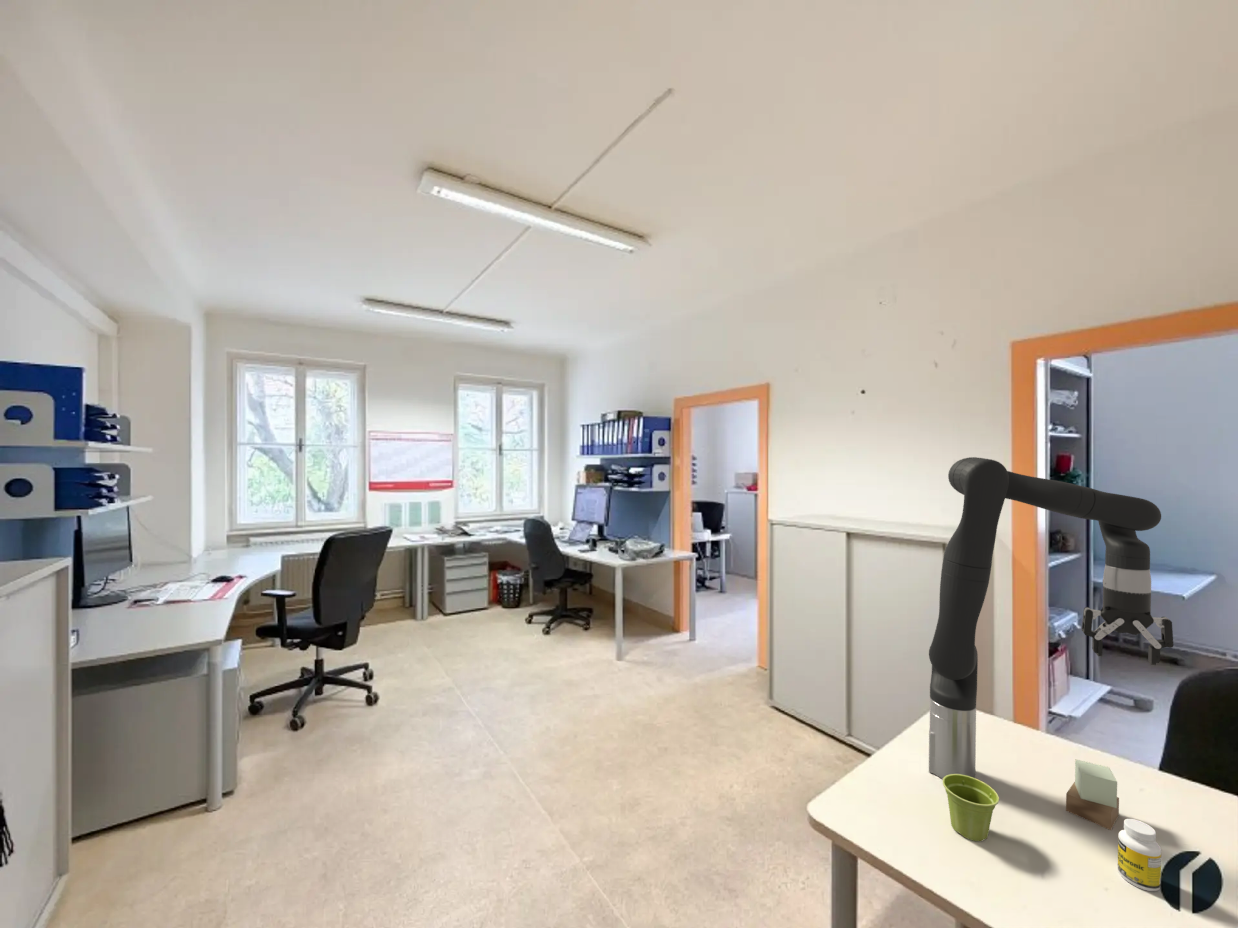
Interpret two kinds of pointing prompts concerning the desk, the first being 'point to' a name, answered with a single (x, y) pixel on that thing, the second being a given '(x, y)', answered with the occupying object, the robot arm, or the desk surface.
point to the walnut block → (1091, 809)
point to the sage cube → (1096, 783)
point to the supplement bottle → (1139, 855)
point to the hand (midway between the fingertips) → (1125, 659)
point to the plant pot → (970, 805)
